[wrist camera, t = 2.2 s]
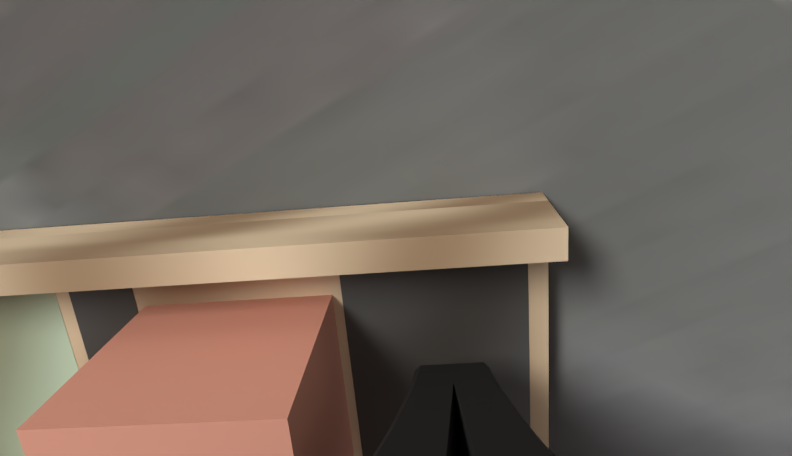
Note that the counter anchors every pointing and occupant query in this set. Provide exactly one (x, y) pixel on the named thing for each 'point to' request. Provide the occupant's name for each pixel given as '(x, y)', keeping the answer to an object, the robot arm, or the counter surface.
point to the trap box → (299, 294)
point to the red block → (205, 386)
